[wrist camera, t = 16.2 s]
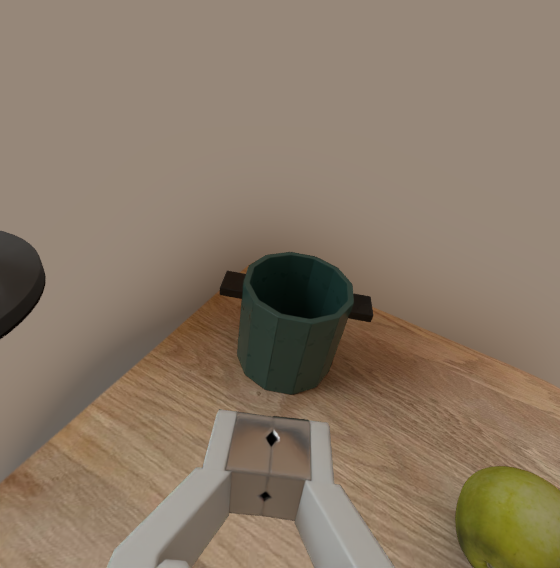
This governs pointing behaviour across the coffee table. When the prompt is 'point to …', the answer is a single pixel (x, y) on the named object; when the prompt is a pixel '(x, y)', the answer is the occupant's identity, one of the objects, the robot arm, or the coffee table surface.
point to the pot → (292, 318)
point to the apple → (509, 520)
